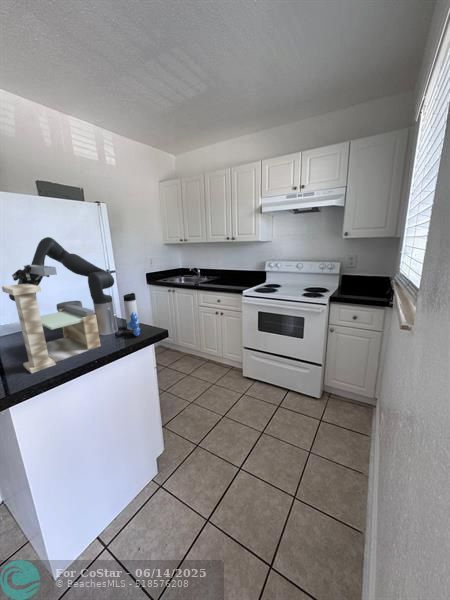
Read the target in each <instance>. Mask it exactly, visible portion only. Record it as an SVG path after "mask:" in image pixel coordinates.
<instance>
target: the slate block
mask: <svg viewBox="0 0 450 600" xmlns="http://www.w3.org/2000/svg"><path fill="white" fill-rule="evenodd" d="M27 265H28V264H26V265H23V269H24V268H25V266H27ZM29 265H30V267H31V270H30V273H32V274H38V275H44V277H47V275H49V276H55V275H57V268H56V266H51V265H50V266H48V265H44V266H41V265H31V264H29Z"/></svg>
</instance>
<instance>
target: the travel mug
mask: <svg viewBox="0 0 450 600" xmlns="http://www.w3.org/2000/svg"><path fill="white" fill-rule="evenodd" d="M122 297H123V305H124V314H125V320H126V324H127V323H128V322H130V320H131V318H130V316H131V314H132V313H133V312H134V313H136V314H137V317H138V315H139V314H138V306H137V298H136V293H135V292H131V293H127V294H124V295H123V296H122ZM137 321H138V322H139V317H138V319H137ZM138 327H139V328H140V325H139V326H138ZM126 330H128V331H133V330H132V329H131V328H128V327H127V326H126Z"/></svg>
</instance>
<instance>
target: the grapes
mask: <svg viewBox="0 0 450 600" xmlns="http://www.w3.org/2000/svg"><path fill="white" fill-rule="evenodd" d="M137 314H138V313H137ZM137 314H136V313H134V312H133V313H132V314H131V316H130V318H131V320H130V322H128V323H127V322H126V328H127V327H128V328H131V329H132V330H131V331H132V334H133V335H134V336H135V337H139V335H140V334H141V328H140V324H141V323H140V322H139V317H137ZM137 319H138V321H137ZM138 326H139V327H138Z"/></svg>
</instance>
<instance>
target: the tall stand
mask: <svg viewBox="0 0 450 600" xmlns="http://www.w3.org/2000/svg"><path fill="white" fill-rule="evenodd" d="M1 289H2V292H3V293H6V294H11V295H14V298H15V301H14V302H15V306H16V311H17V315H18V318H19V320H18V321H19V324H20V328H21V332H22V337H23V340H24V341H23V343H24V346H25V349H26V354H27V358H28V361H25V362H23V363H22V364H23V365H22V366H23V367H24V369H26V370H27V371H28V372H29V373H30V374H34V373H36V372H39V371H42V370H45V369H48V368H50V367H53V366H56V365H57V363H56V362H55V361H54V360H53V359H51V358H49V355H48V351H47V346H46V343H47V342H46V337H45V333H44V326H43V325H42V322H41V317H40V316H41V313H40V308H39V303H38V298H37V293H40V292H42V289H41V286H40V285H38V286H37V285H32V284H19V285H18V284H12V285H11V284H10V285H4V286H1ZM35 292H36V293H35Z"/></svg>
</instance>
